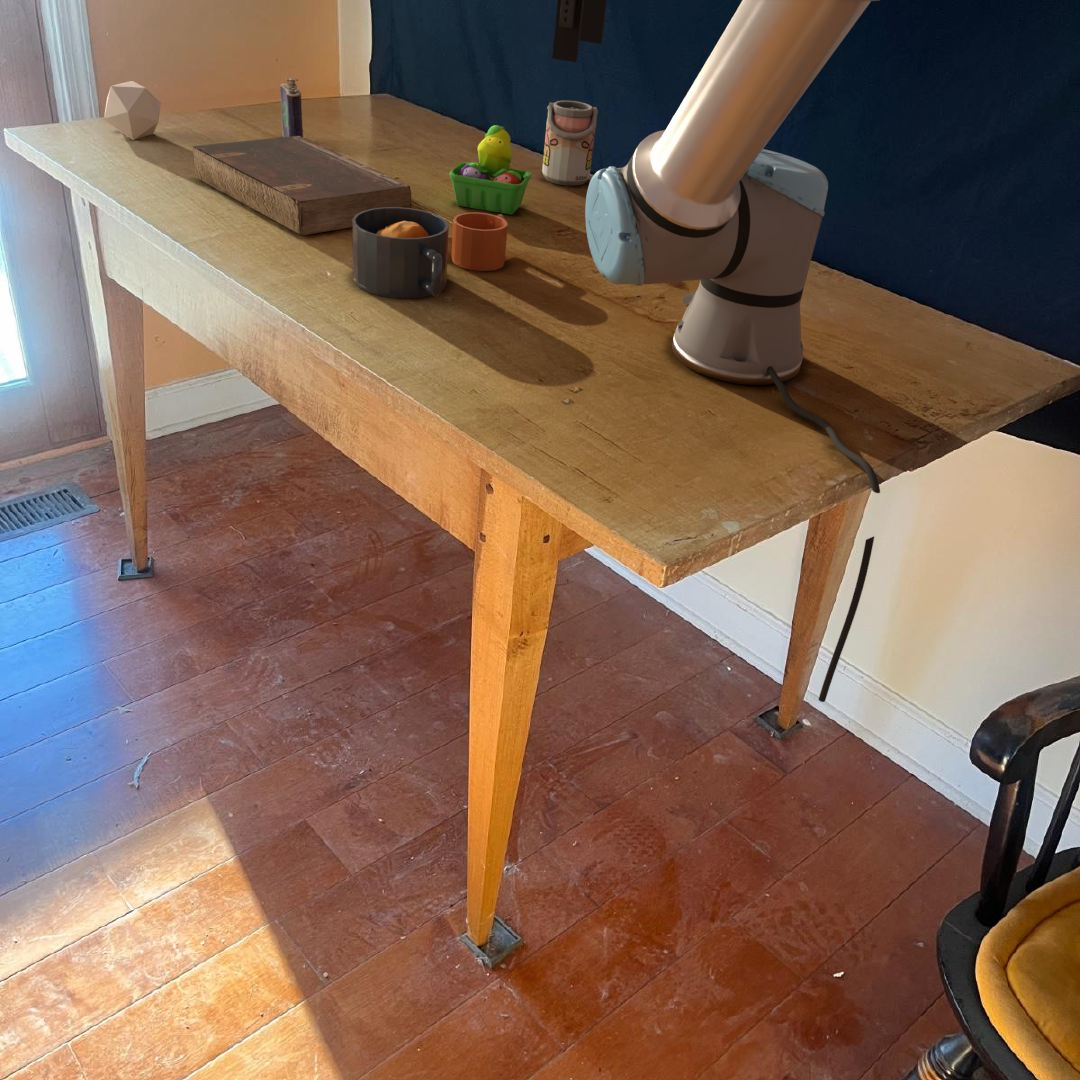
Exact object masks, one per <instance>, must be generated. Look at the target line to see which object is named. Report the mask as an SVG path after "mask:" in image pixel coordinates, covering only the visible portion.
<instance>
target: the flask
mask: <svg viewBox="0 0 1080 1080" xmlns="http://www.w3.org/2000/svg"><path fill="white" fill-rule="evenodd" d="M285 81H286V83H281V84H280V85H279V92H280V93H279V94H280V95H279V96H280V108H281V130H282V134H281V137H291V136H301V137H303V138H304V129H303V128H304V127H303V109H302V108H303V107H302V92H301V90H300V89H299V88H298V86H297V84H296V82H298V81H299V78H295V77H294V78H285Z"/></svg>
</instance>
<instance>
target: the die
mask: <svg viewBox="0 0 1080 1080" xmlns="http://www.w3.org/2000/svg"><path fill="white" fill-rule="evenodd" d="M161 104H162V102H161V101H160V100H159V99H158V98H157V97H156V96H155V95H153V94H152V93H151V91H149V90H148V89H147V88H146V87H145V86H143V85H141V84H139V83H137V82H135V81H133V80H129V81H124V82H122V83H117V84H114V85H111V86H110V87H109V92H108V94H107V97H106V102H105V108H104V109H105V110H104V116H103V120H105V121H106V122H107V123H109V124H110V125H111V126H112V127H114V128H115V130H117V131H119V132H120V133H122V134H123V135H124V136H126V137H128V139H131V140H132V141H135V140H138V139H142V138H144V137H147V136H150V135H153V134H154V133H155V131H156V129H157V126H158V124H159V122H160V113H161V112H160V111H161Z"/></svg>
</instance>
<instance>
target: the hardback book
mask: <svg viewBox="0 0 1080 1080" xmlns="http://www.w3.org/2000/svg"><path fill="white" fill-rule="evenodd" d="M192 152H193V153H192V154H193V162H194V163H193V164H194V172H195V178H196V179H198V180H200V181H202V182H203V183H206V184H207V185H209V186H211V187H212V188H214V189H216V190H219V191H220V192H222V193H224V194H225V195H227V196H230V197H231V198H233V199H235V200H237V201H238V202H240V203H242V204H244V205H246V206H247V207H249V208H251V209H253V210H254V211H256V212H259V213H260V214H262V215H264V216H266V217H268V218H269V219H271V220H273V221H275V222H276V223H279V224H280V225H282V226H283V227H286V228H287V229H289V230H291V231H293V232H295V233H297V234H298V235H301V236H307V235H311V234H318V233H324V232H331V231H337V230H342V229H348V228H352V219H353V217H354V216H355V215H356V214H358V213H360V212H362V211H365V210H369V209H374V208H383V207H401V208H412V189H411V186H410V185H408V184H406V183H404V182H402V181H400V180H398V179H396V178H393V177H391V176H389V175H387V174H384V173H382V172H380V171H378V170H375V169H373V168H371V167H369V166H367V165H364V164H362V163H361V162H358V161H356V160H353V159H351V158H350V157H347V156H345V155H342V154H340V153H339V152H336V151H334V150H331V149H329V148H327V147H325V146H322V145H320V144H318V143H316V142H314V141H312V140H310V139H307V138H305V137H304V136H303V137H301V136H291V137H282V136H281V137H271V138H261V139H251V140H240V141H231V142H229V141H228V142H220V143H219V142H218V143H209V144H199V145H198V144H197V145H192Z"/></svg>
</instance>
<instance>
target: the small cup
mask: <svg viewBox="0 0 1080 1080" xmlns="http://www.w3.org/2000/svg"><path fill="white" fill-rule="evenodd" d="M508 226H509V223H508V221H507V220H506V219H505V217H504V215H503V213H499V214H497V215H495V214H491V213H487V212H477V211H476V212H464V213H459V214H457V215H455V216H454V217H453V219H452V236H451V238H452V239H451V240H452V241H451V261H452V263H453V264H454V265H455V266H457V267H460V268H462V269H464V270H465V269H466V270H470V271H475V272H477V271H478V272H491V271H496V270H499V269H501V268H503V267H504V266H505V261H506V250H507V239H508V238H507V237H508Z"/></svg>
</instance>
